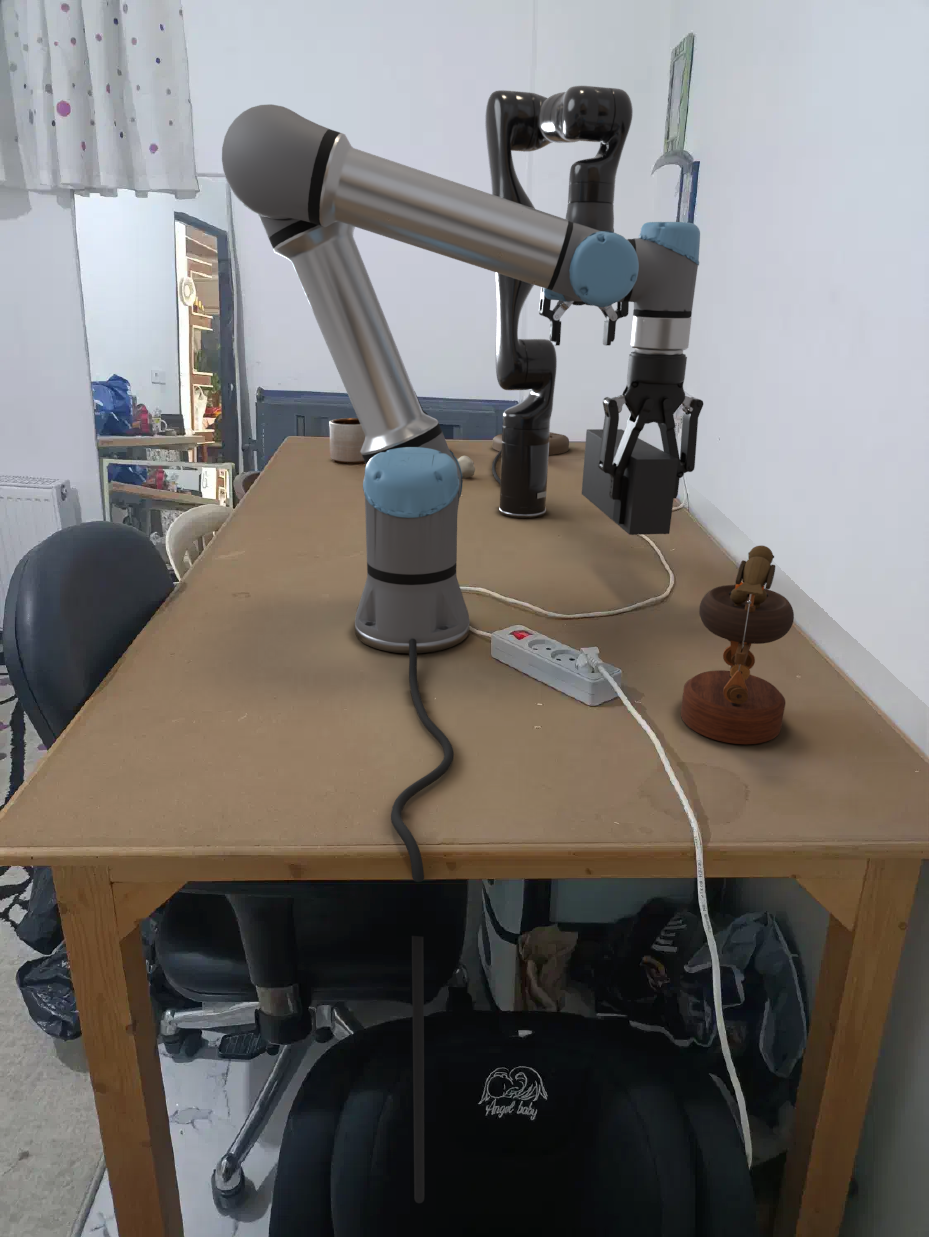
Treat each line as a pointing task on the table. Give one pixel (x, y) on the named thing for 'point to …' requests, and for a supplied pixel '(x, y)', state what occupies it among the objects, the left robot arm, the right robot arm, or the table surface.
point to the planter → (346, 440)
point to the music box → (740, 658)
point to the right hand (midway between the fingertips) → (581, 345)
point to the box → (633, 485)
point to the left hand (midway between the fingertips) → (640, 520)
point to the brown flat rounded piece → (556, 443)
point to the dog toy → (466, 466)
